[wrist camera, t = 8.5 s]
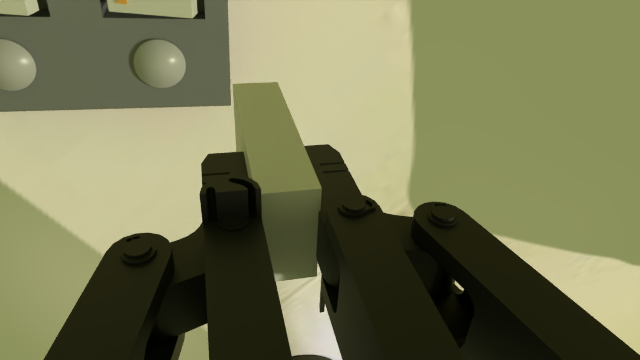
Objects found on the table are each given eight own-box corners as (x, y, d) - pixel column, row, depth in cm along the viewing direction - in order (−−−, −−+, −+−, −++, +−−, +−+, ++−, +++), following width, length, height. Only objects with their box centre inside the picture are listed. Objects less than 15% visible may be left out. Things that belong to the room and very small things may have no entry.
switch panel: (227, 86, 41) (231, 107, 38) (-38, 90, 36) (-61, 115, 33) (222, -70, 35) (225, -62, 31) (-102, -88, 30) (-139, -81, 26)
